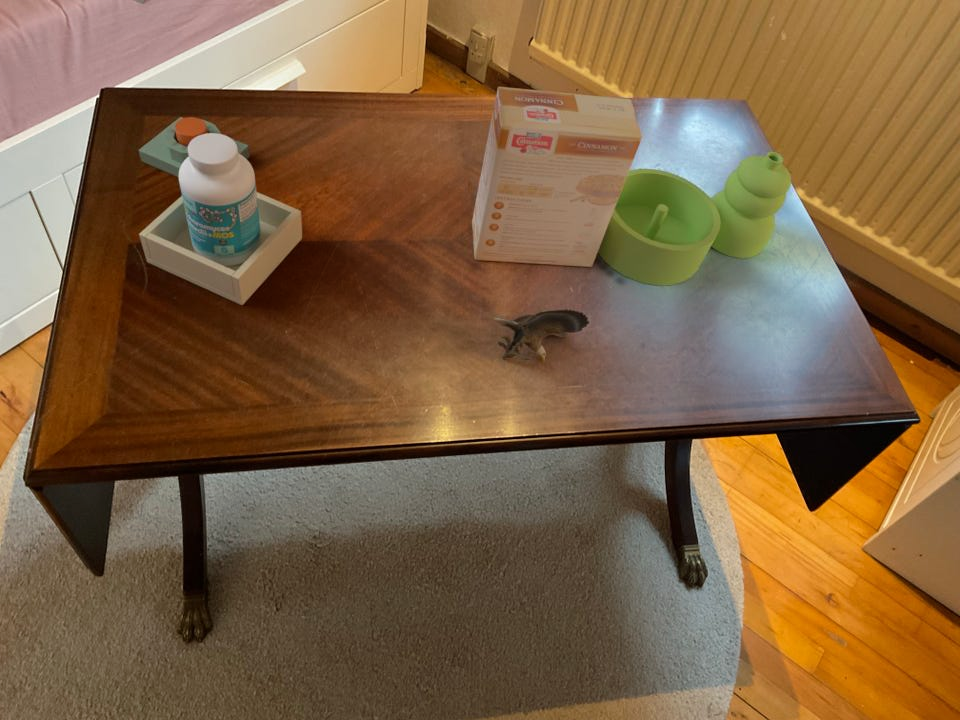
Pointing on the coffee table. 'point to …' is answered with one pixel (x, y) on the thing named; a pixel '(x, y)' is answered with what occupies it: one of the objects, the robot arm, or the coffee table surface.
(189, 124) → the button
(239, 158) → the pill bottle
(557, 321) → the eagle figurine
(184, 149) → the panel
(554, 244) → the coffeecake box
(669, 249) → the food container
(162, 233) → the cream square open box
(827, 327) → the coffee table surface
